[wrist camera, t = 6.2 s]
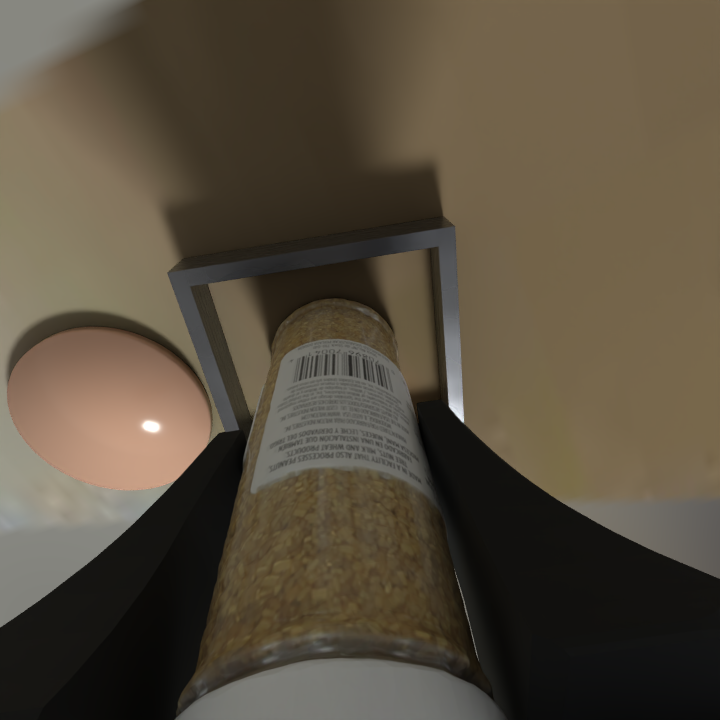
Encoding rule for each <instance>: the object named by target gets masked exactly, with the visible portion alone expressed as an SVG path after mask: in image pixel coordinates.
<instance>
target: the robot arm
mask: <svg viewBox="0 0 720 720" xmlns="http://www.w3.org/2000/svg"><path fill="white" fill-rule="evenodd" d="M417 410H418V419H419V429H420V433H421V437H422V441H423V445H424V448H425V452H426V456H427V459H428V463H429V466H430V470H431V473H432V477H433V480H434V484H435V487H436V491H437V494H438V498H439V501H440V505H441V509H442V512H443V516H444V519H445V524H446V528H447V542H448V546H449V550H450V554H451V558H452V561H453V565H454V569H455V572H456V575H457V578H458V580H459V584H460V587H461V590H462V594H463V597H464V601H465V605H466V609H467V613H468V617H469V621H470V625H471V629H472V634H473V637H474V642H475V646H476V650H477V654H478V659H479V663H480V666H481V668H482V671H483V673H484V674H485V676H486V677H487V679H488V680H489V682H490V684H491V686H492V691H493V693H492V694H493V697H494V700H495V702H496V703H497V705H498V706H499V707H500V708H501V710H502V711H503V712H504V714H505V716H506V718H507V720H720V579H718V578H716V577H714V576H711V575H709V574H707V573H704V572H702V571H699V570H697V569H695V568H692V567H690V566H688V565H685V564H683V563H680V562H678V561H676V560H673V559H671V558H668V557H666V556H663V555H661V554H659V553H657V552H654V551H652V550H650V549H648V548H646V547H644V546H642V545H640V544H638V543H636V542H633V541H631V540H629V539H627V538H625V537H623V536H621V535H619V534H617V533H615V532H613V531H611V530H609V529H607V528H605V527H603V526H602V525H600V524H598V523H596V522H595V521H593V520H591V519H589V518H588V517H586V516H584V515H582V514H581V513H579V512H577V511H575V510H574V509H572V508H570V507H568V506H567V505H565V504H563V503H562V502H560V501H559V500H557V499H555V498H554V497H552V496H551V495H549V494H548V493H546V492H545V491H543V490H542V489H541V488H539V487H538V486H536V485H535V484H533V483H532V482H531V481H529V480H528V479H527V478H525V477H524V476H523V475H521V474H520V473H519V472H517V471H516V470H515V469H514V468H512V467H511V466H510V465H509V464H508V463H506V462H505V461H504V460H503V459H501V458H500V457H499V456H498V455H497V454H496V453H495V452H493V451H492V450H491V449H490V448H489V447H488V446H487V445H486V444H485V443H484V442H482V441H481V440H480V439H479V438H478V437H477V436H476V435H475V434H474V433H473V432H472V431H471V430H470V429H469V428H468V427H467V426H466V425H465V424H464V423H463V422H462V421H461V420H460V419H459V418H458V417H457V416H456V414H455V413H454V412H453V411H452V410H451V409H450V408H449V406H448V405H447V404H446V403H445V402H444V401H442V400H434V401H427V402H421V403H417ZM246 445H247V441H246V438H245V435H244V432H243V429H242V430H235V431H229V432H222V433H219V434H218V435H217V436H216V437H215V438H214V439H213V440H212V441H211V442H210V443H209V444H208V445H207V447H206V448H205V449H204V450H203V451H202V452H201V453H200V454H199V456H198V457H197V458H196V459H195V460H194V461H193V462H192V463H191V465H190V466H189V467H188V468H187V469H186V470H185V471H184V472H183V473H182V474H181V475H180V477H179V478H178V479H177V480H176V481H175V482H174V483H173V484H172V485H171V486H170V488H169V489H168V490H167V491H166V492H165V493H164V494H163V495H162V496H161V497H160V498H159V499H158V500H157V501H156V502H155V503H154V504H153V505H152V506H151V507H150V508H149V509H148V510H147V511H146V512H145V513H144V514H143V515H142V516H141V517H140V518H139V519H138V520H137V521H136V522H135V523H134V524H133V525H132V526H131V527H130V528H128V529H127V530H126V531H125V532H124V533H123V534H122V535H121V536H120V537H119V538H117V539H116V540H115V541H114V542H113V543H112V544H111V545H109V546H108V547H107V548H106V549H105V550H104V551H103V552H101V553H100V554H99V555H98V556H97V557H96V558H94V559H93V560H92V561H91V562H89V563H88V564H87V565H85V566H84V567H83V568H82V569H80V570H79V571H78V572H76V573H75V574H74V575H73V576H71V577H70V578H69V579H67V580H66V581H65V582H63V583H62V584H61V585H59V586H58V587H57V588H56V589H54V590H53V591H52V592H50V593H49V594H48V595H46V596H45V597H44V598H42V599H41V600H40V601H38V602H37V603H35V604H34V605H33V606H31V607H30V608H28V609H27V610H25V611H24V612H23V613H21V614H20V615H18V616H17V617H15V618H14V619H13V620H11V621H9V622H8V623H6V624H5V625H3V626H2V627H0V720H175V719H176V718H177V716H176V711H177V708H178V701H179V698H180V696H181V693H182V691H183V690H184V688H185V687H186V686H187V684H188V683H189V681H190V680H191V678H192V677H193V675H194V673H195V671H196V666H197V662H198V657H199V651H200V645H201V640H202V637H203V633H204V630H205V629H206V626H207V617H208V612H209V608H210V604H211V600H212V597H213V592H214V587H215V584H216V582H217V576H218V567H219V564H220V561H221V558H222V554H223V548H224V544H225V540H226V538H227V532H228V529H229V526H230V521H231V516H232V512H233V508H234V503H235V498H236V495H237V492H238V487H239V483H240V480H241V476H242V473H243V457H244V453H245V449H246Z"/></svg>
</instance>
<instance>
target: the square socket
mask: <svg viewBox="0 0 720 720" xmlns="http://www.w3.org/2000/svg"><path fill="white" fill-rule="evenodd" d="M426 248H430V255H431V268H432V282H433V295H434V309H435V322H436V336H437V350H438V363H439V377H440V390H441V400H442V401H444V402H445V403H446V404H447V405H448V406H449V408H450V409H451V410H452V411H453V412H454V413H455V414H456V416H457V417H458V418H459V419H460V420H461V421H462V422H463V423H464V413H463V391H462V369H461V347H460V325H459V304H458V282H457V260H456V238H455V226H454V225H453V224H452V223H451V222H449V221H448V220H447V219H446V218H445V217H444V216H443V217H437V218H431V219H425V220H419V221H413V222H407V223H400V224H394V225H388V226H382V227H376V228H370V229H363V230H357V231H351V232H345V233H339V234H333V235H327V236H320V237H314V238H308V239H302V240H296V241H290V242H283V243H277V244H271V245H265V246H259V247H253V248H247V249H240V250H234V251H228V252H222V253H216V254H210V255H204V256H197V257H191V258H185V259H182V260H181V261H180V262H179V263H178V264H177V265H175V266H174V267H173V268H172V269H171V270H170V271H169V272H168V276H169V279H170V282H171V284H172V287H173V290H174V292H175V295H176V298H177V301H178V303H179V306H180V309H181V312H182V314H183V317H184V320H185V323H186V325H187V328H188V331H189V334H190V336H191V339H192V342H193V344H194V347H195V350H196V353H197V355H198V358H199V361H200V364H201V366H202V369H203V372H204V375H205V377H206V380H207V383H208V386H209V388H210V391H211V394H212V397H213V399H214V402H215V405H216V407H217V410H218V413H219V416H220V418H221V421H222V424H223V427H224V429H225V432H229V431H235V430H242V429H243V432H244V435H245V438H246V441H248V438H249V434H250V430H251V427H252V420H251V417H250V414H249V411H248V408H247V405H246V402H245V399H244V396H243V393H242V390H241V387H240V383H239V380H238V377H237V374H236V371H235V368H234V365H233V362H232V359H231V356H230V353H229V350H228V347H227V343H226V340H225V337H224V334H223V331H222V328H221V325H220V322H219V319H218V316H217V313H216V310H215V307H214V304H213V300H212V297H211V294H210V291H209V288H208V285H207V284H208V283H214V282H221V281H227V280H233V279H239V278H245V277H252V276H258V275H264V274H270V273H277V272H283V271H289V270H295V269H301V268H308V267H314V266H320V265H326V264H332V263H339V262H345V261H351V260H357V259H364V258H370V257H376V256H382V255H388V254H395V253H401V252H407V251H413V250H419V249H426ZM418 426H419V424H418ZM419 430H420V429H419Z"/></svg>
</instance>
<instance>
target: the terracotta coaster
mask: <svg viewBox="0 0 720 720" xmlns="http://www.w3.org/2000/svg"><path fill="white" fill-rule="evenodd" d="M7 400H8V406H9V411H10V414H11V417H12V420H13V422H14V424H15V426H16V428H17V430H18V432H19V433H20V435H21V436H22V438H23V439H24V440H25V442H26V443H27V444H28V445H29V446H30V447H31V448H32V450H33V451H34V452H35V453H37V454H38V455H39V456H40V457H41V458H42V459H43V460H45V461H46V462H47V463H49V464H50V465H52V466H53V467H54V468H56V469H58V470H59V471H61V472H63V473H65V474H67V475H69V476H71V477H73V478H75V479H77V480H80V481H83V482H85V483H88V484H92V485H95V486H99V487H104V488H109V489H117V490H143V489H150V488H155V487H159V486H162V485H165V484H168V483H170V482H173V481H175V480H177V479H178V478H179V477H180V475H181V474H182V473H183V472H184V471H185V470H186V469H187V468H188V467H189V466H190V465H191V463H192V462H193V461H194V460H195V459H196V458H197V457H198V456H199V454H200V453H201V452H202V451H203V450H204V449H205V448H206V446H207V444H208V441H209V438H210V436H211V431H212V420H213V417H212V409H211V405H210V401H209V398H208V396H207V393H206V391H205V389H204V387H203V385H202V384H201V382H200V381H199V379H198V377H197V376H196V375H195V374H194V372H193V371H192V370H191V369H190V368H189V367H188V366H187V365H186V364H185V363H184V362H183V361H182V360H181V359H180V358H179V357H177V356H176V355H175V354H174V353H172V352H171V351H170V350H168V349H166V348H165V347H163V346H162V345H160V344H158V343H156V342H154V341H152V340H150V339H148V338H146V337H144V336H141V335H138V334H135V333H132V332H129V331H125V330H121V329H116V328H109V327H92V326H89V327H78V328H73V329H68V330H64V331H61V332H58V333H56V334H53V335H51V336H49V337H47V338H46V339H44V340H42V341H41V342H39V343H38V344H37V345H35V346H34V347H33V348H31V349H30V350H29V351H28V352H26V353H25V354H24V355H23V356H22V357H21V359H20V360H19V361H18V362H17V364H16V365H15V367H14V369H13V371H12V373H11V376H10V379H9V382H8V389H7Z"/></svg>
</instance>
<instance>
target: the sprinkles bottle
mask: <svg viewBox="0 0 720 720" xmlns="http://www.w3.org/2000/svg"><path fill="white" fill-rule="evenodd" d="M271 351H272V354H271V356H272V358H271V367H270V370H269V373H268V376H267V381H266V383H265V384H264V385H263V387H262V390H261V393H260V397H259V401H258V404H257V408H256V412H255V415H254V419H253V423H252V427H251V430H250V434H249V438H248V441H247V445H246V449H245V453H244V457H243V473H242V476H241V480H240V483H239V487H238V492H237V495H236V498H235V503H234V508H233V512H232V516H231V521H230V526H229V529H228V532H227V538H226V540H225V544H224V548H223V554H222V558H221V561H220V564H219V567H218V576H217V582H216V584H215V587H214V592H213V597H212V600H211V604H210V608H209V612H208V617H207V626H206V629H205V630H204V633H203V637H202V640H201V645H200V651H199V657H198V662H197V666H196V671H195V673H194V675H193V677H192V678H191V680H190V681H189V683H188V684H187V686H186V687H185V688H184V690H183V691H182V693H181V696H180V698H179V701H178V708H177V711H176V716H177V718H176V719H175V720H507V718H506V716H505V714H504V712H503V711H502V710H501V708H500V707H499V706H498V705H497V703H496V702H495V700H494V697H493V694H492V693H493V691H492V686H491V684H490V682H489V680H488V679H487V677H486V676H485V674H484V673H483V671H482V668H481V666H480V663H479V660H478V658H477V655H476V652H475V647H474V643H473V639H472V635H471V630H470V626H469V622H468V619H467V616H466V613H465V608H464V603H463V599H462V596H461V593H460V589H459V585H458V582H457V578H456V575H455V570H454V565H453V561H452V558H451V554H450V550H449V546H448V542H447V528H446V524H445V519H444V516H443V512H442V509H441V505H440V501H439V498H438V494H437V491H436V487H435V484H434V480H433V477H432V473H431V470H430V466H429V463H428V459H427V456H426V452H425V448H424V445H423V441H422V437H421V433H420V430H419V426H418V423H417V419H416V415H415V412H414V408H413V405H412V401H411V397H410V394H409V390H408V387H407V384H406V381H405V379H404V377H403V375H402V374H401V371H400V366H399V362H398V361H399V357H398V346H397V342H396V340H395V337H394V334H393V332H392V330H391V328H390V327H389V325H388V324H387V322H386V321H385V320H384V319H383V318H382V317H381V316H380V315H379V314H378V313H377V312H375V311H374V310H373V309H371V308H370V307H368V306H365V305H363V304H361V303H358V302H355V301H349V300H346V299H338V298H333V299H321V300H317V301H313V302H311V303H309V304H306V305H304V306H303V307H301V308H299V309H297V310H295V311H294V312H293V313H292V314H291V315H290V316H289V317H288V318H287V319H286V320H284V321H283V322H282V324H281V325H280V326H279V328H278V330H277V332H276V335H275V338H274V340H273V343H272V346H271Z"/></svg>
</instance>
